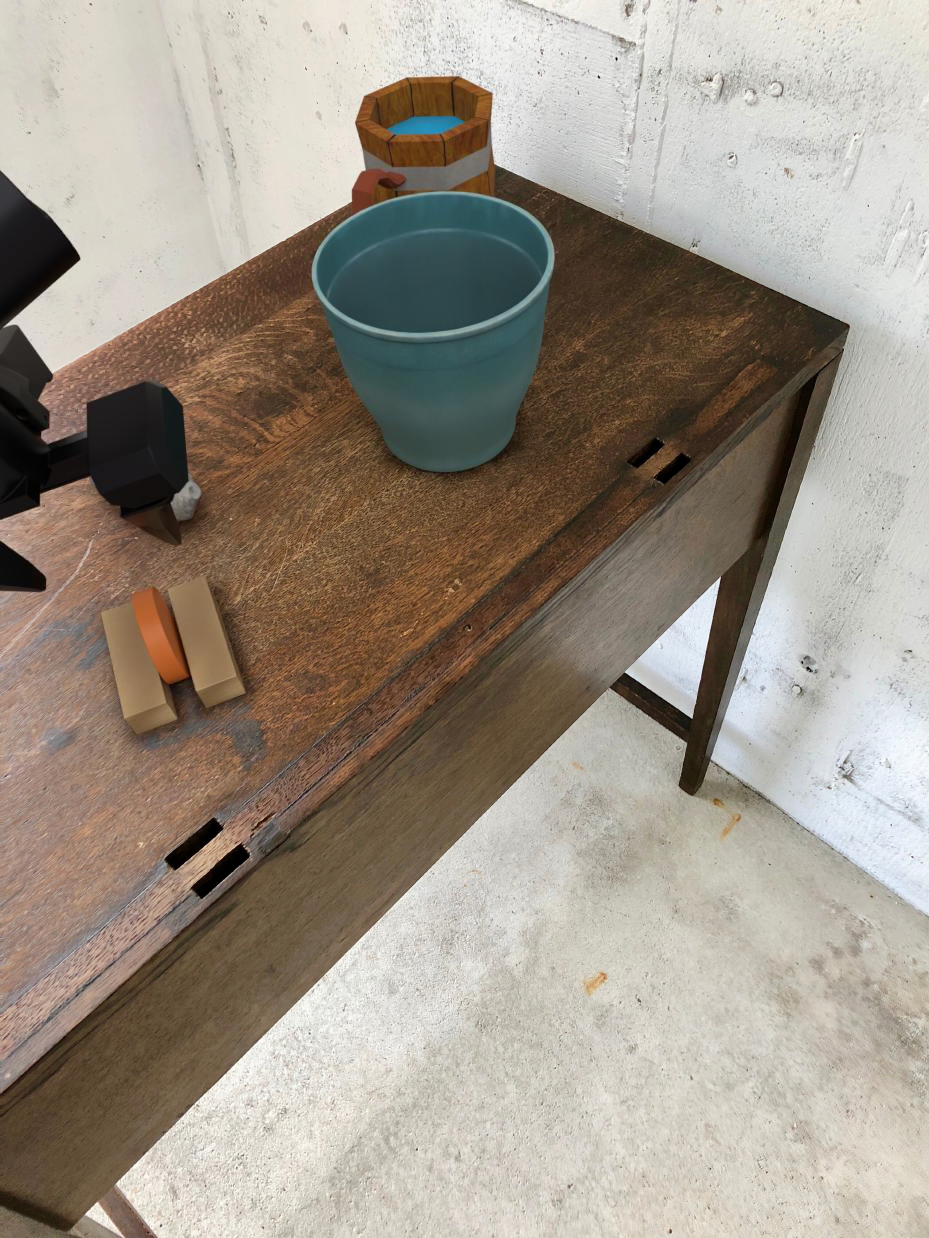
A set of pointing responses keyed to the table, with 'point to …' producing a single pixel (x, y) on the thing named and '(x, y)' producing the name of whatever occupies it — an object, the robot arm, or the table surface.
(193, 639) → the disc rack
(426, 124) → the mug
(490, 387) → the flower pot
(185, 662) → the disc
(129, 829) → the table surface
